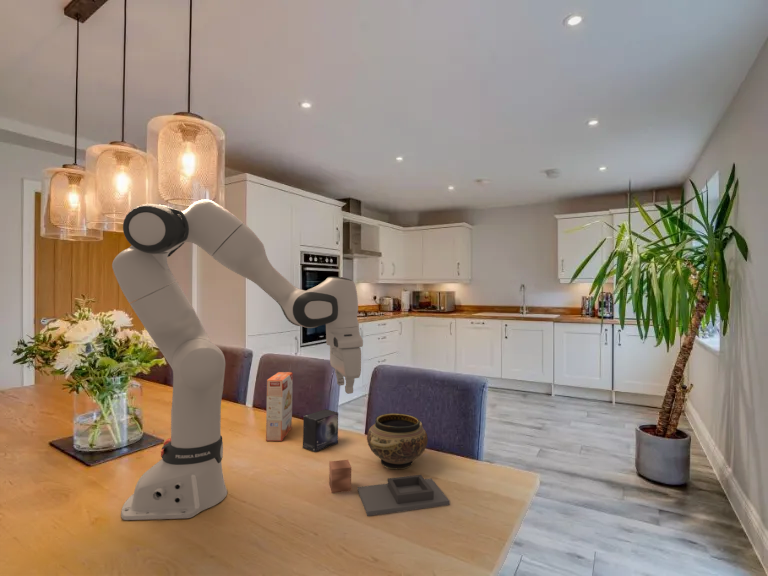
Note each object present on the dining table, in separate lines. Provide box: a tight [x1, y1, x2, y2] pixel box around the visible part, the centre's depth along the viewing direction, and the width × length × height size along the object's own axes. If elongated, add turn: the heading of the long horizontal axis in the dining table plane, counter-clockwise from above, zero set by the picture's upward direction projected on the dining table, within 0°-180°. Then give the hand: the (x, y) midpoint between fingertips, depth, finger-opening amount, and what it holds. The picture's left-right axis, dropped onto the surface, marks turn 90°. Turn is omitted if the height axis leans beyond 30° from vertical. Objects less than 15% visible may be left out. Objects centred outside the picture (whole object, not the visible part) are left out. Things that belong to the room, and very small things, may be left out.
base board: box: [357, 474, 451, 517], centre depth 101 cm, size 20×12×3 cm, turn 104°
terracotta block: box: [328, 459, 352, 494], centre depth 106 cm, size 5×5×6 cm
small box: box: [302, 409, 339, 453], centre depth 135 cm, size 11×6×10 cm, turn 143°
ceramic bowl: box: [366, 412, 429, 470], centre depth 121 cm, size 24×18×15 cm
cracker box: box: [265, 371, 294, 442], centre depth 145 cm, size 14×6×21 cm, turn 179°
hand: (344, 388), depth 110 cm, fingers open, 8 cm apart
